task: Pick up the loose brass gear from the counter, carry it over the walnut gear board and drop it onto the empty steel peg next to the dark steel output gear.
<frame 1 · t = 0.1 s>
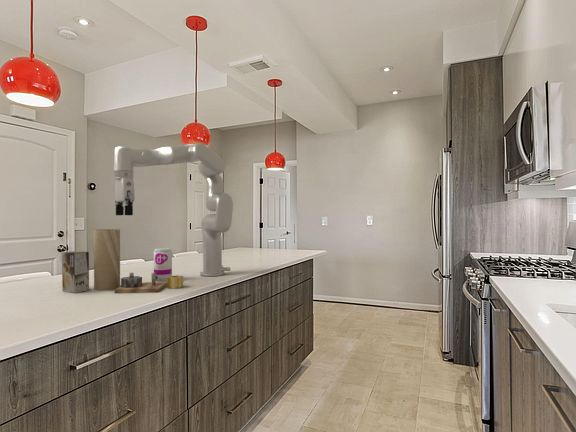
hand: (124, 215, 155), 31 cm above the worktop, tool pointing down, fingers open, 9 cm apart
gear board: (141, 289, 151), on the worktop
tube: (107, 288, 153), on the worktop
brass gear: (175, 287, 155), on the worktop
supplement can: (162, 280, 172), on the worktop
coffee box: (75, 291, 148), on the worktop
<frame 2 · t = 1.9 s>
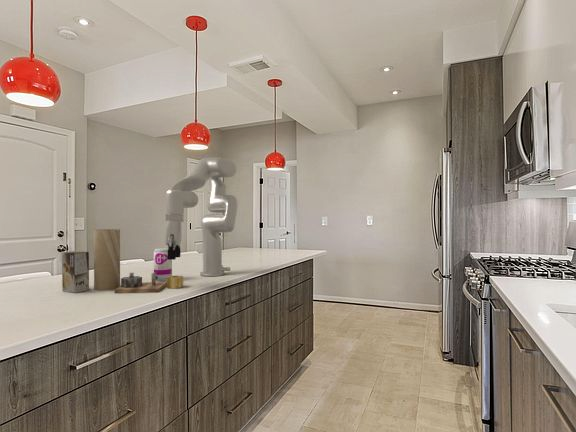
hand: (174, 258, 155), 13 cm above the worktop, tool pointing down, fingers open, 9 cm apart
nothing on the worktop moved.
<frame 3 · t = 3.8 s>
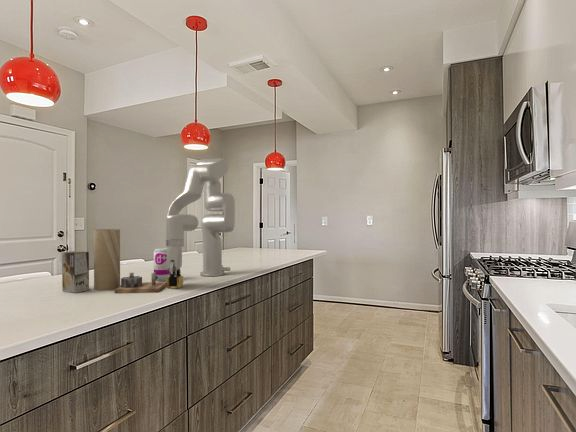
hand: (175, 284, 155), 1 cm above the worktop, tool pointing down, fingers closed on brass gear, 6 cm apart
brass gear: (175, 287, 155), on the worktop, touching gripper
everything else where it was.
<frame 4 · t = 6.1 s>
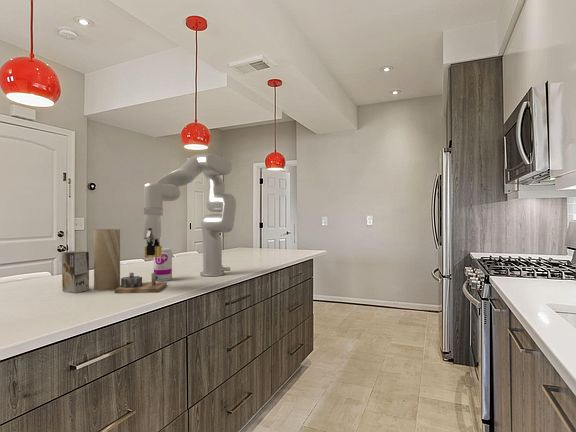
hand: (153, 253, 152), 15 cm above the worktop, tool pointing down, fingers closed on brass gear, 6 cm apart
brass gear: (153, 256, 152), point 13 cm above the worktop, touching gripper
everything else where it was.
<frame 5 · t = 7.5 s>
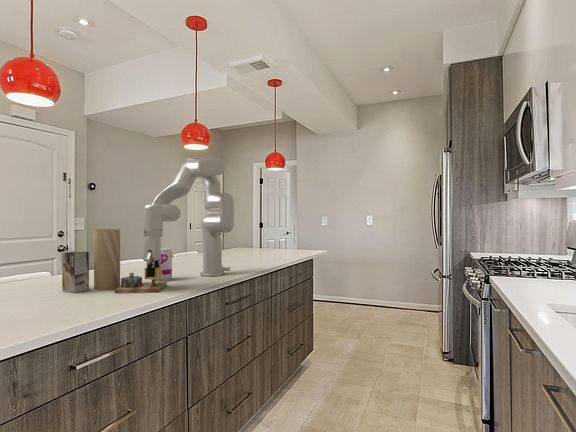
hand: (153, 275, 152), 6 cm above the worktop, tool pointing down, fingers closed on brass gear, 6 cm apart
brass gear: (153, 278, 152), point 4 cm above the worktop, touching gripper
everything else where it was.
when the fingers open (4 cm above the worktop, at t = 8.8 s): brass gear drops 1 cm, resting on gear board.
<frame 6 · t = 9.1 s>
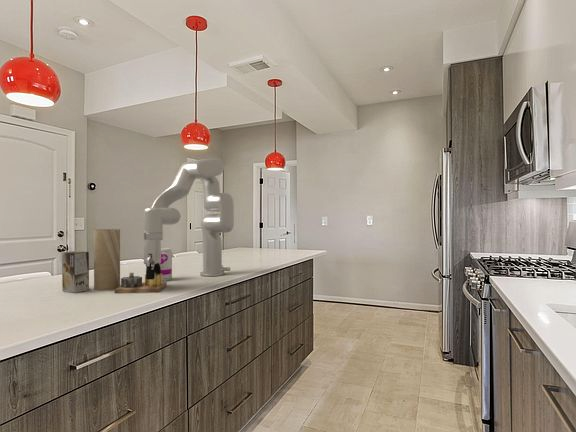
hand: (153, 277, 152), 5 cm above the worktop, tool pointing down, fingers open, 9 cm apart
brass gear: (153, 284, 152), point 1 cm above the worktop, touching gear board
everything else where it was.
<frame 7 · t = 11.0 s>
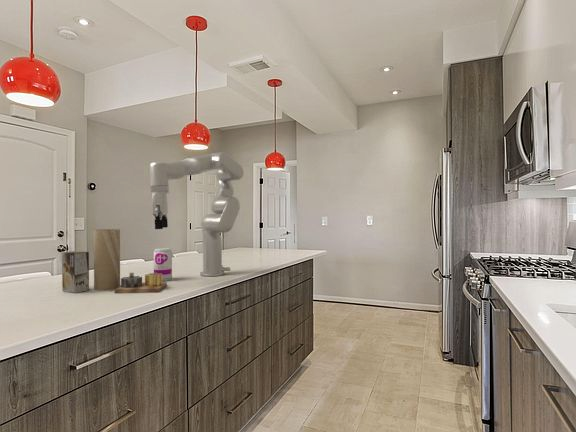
hand: (161, 228, 161), 25 cm above the worktop, tool pointing down, fingers open, 9 cm apart
nothing on the worktop moved.
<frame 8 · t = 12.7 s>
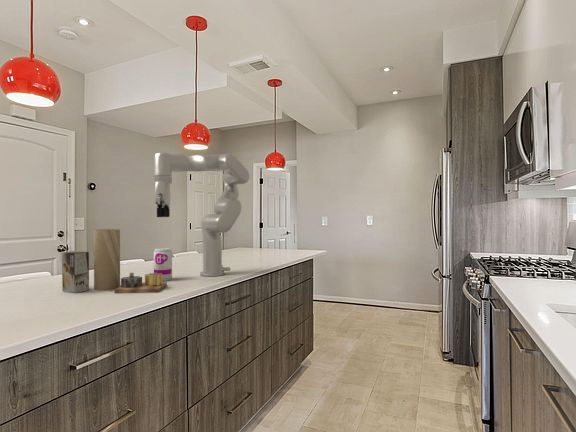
hand: (163, 217, 165), 30 cm above the worktop, tool pointing down, fingers open, 9 cm apart
nothing on the worktop moved.
at the end: brass gear 0.1 cm from the target spot on the gear board, point 1.5 cm above the gear board's base; brass gear tilted 0°; the gripper is holding nothing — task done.
